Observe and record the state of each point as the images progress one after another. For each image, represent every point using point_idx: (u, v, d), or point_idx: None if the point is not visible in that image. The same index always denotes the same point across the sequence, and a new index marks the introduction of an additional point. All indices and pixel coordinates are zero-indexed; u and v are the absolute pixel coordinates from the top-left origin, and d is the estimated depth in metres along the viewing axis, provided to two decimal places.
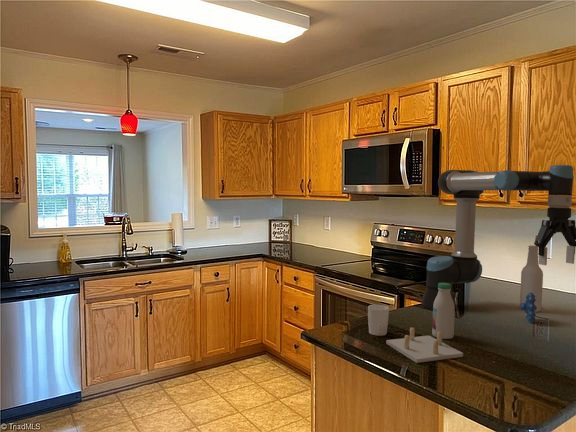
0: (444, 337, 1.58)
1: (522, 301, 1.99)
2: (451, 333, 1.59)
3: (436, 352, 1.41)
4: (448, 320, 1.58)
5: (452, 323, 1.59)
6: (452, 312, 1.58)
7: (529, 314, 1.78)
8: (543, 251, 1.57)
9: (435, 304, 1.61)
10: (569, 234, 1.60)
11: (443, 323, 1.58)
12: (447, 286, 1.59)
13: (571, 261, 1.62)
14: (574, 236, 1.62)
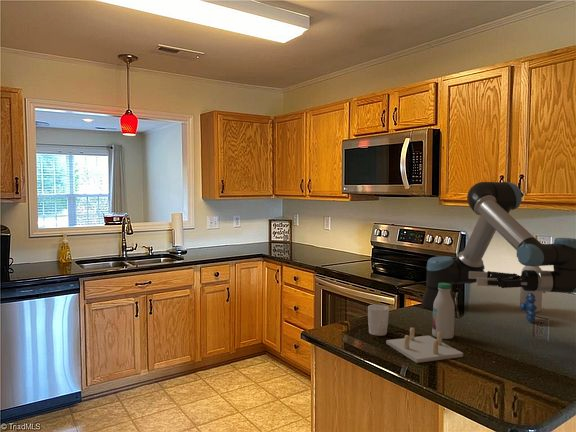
0: (444, 337, 1.58)
1: (522, 301, 1.99)
2: (451, 333, 1.59)
3: (436, 352, 1.41)
4: (448, 320, 1.58)
5: (452, 323, 1.59)
6: (452, 312, 1.58)
7: (529, 314, 1.78)
8: (492, 284, 1.51)
9: (435, 304, 1.61)
10: None
11: (443, 323, 1.58)
12: (447, 286, 1.59)
13: (471, 277, 1.65)
14: None
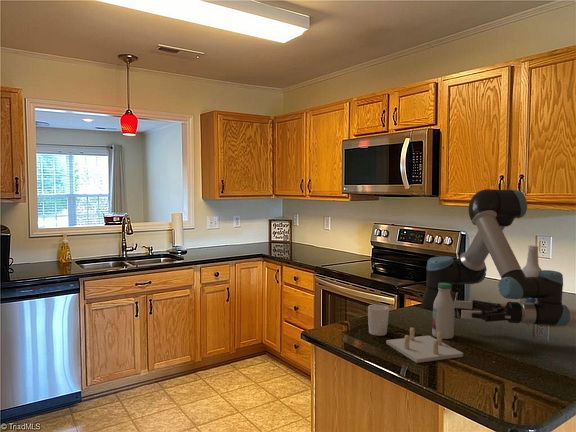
0: (444, 337, 1.58)
1: (522, 301, 1.99)
2: (451, 333, 1.59)
3: (436, 352, 1.41)
4: (448, 320, 1.58)
5: (452, 323, 1.59)
6: (452, 312, 1.58)
7: None
8: None
9: (435, 304, 1.61)
10: None
11: (443, 323, 1.58)
12: (447, 286, 1.59)
13: (456, 306, 1.66)
14: None
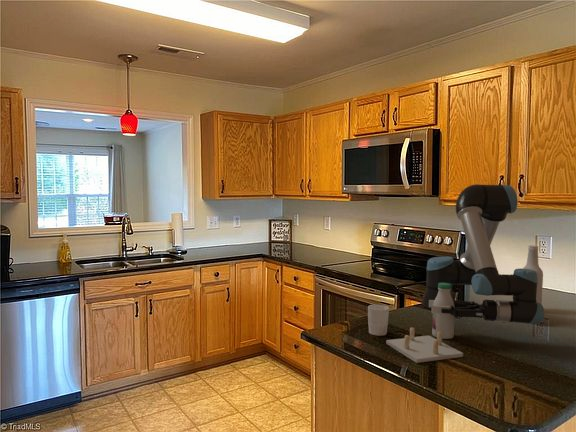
0: (444, 337, 1.58)
1: None
2: (451, 333, 1.59)
3: (436, 352, 1.41)
4: (448, 320, 1.58)
5: (452, 323, 1.59)
6: None
7: None
8: (446, 312, 1.57)
9: (435, 304, 1.61)
10: None
11: (443, 323, 1.58)
12: (447, 286, 1.59)
13: (431, 306, 1.66)
14: None
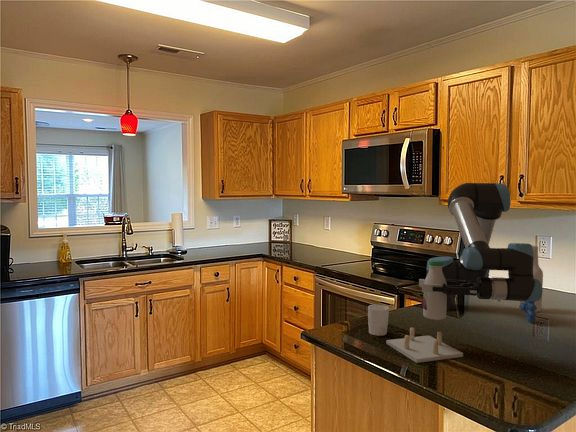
0: (436, 318, 1.47)
1: (522, 301, 1.99)
2: (443, 313, 1.47)
3: (436, 352, 1.41)
4: (440, 299, 1.47)
5: (444, 302, 1.47)
6: None
7: (529, 314, 1.78)
8: None
9: (426, 282, 1.49)
10: None
11: (434, 303, 1.47)
12: (438, 263, 1.47)
13: (421, 285, 1.55)
14: None
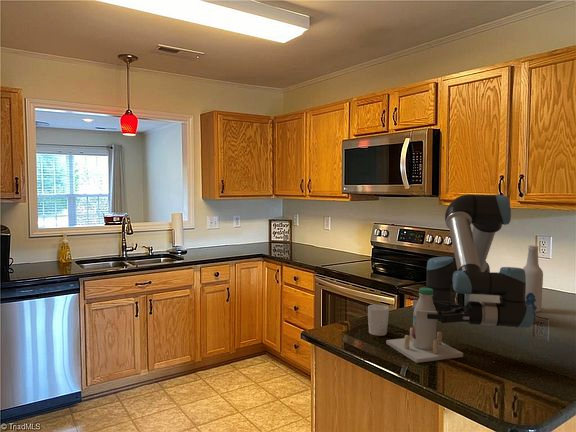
0: (424, 347, 1.44)
1: None
2: (432, 343, 1.44)
3: (436, 352, 1.41)
4: (429, 329, 1.43)
5: (433, 332, 1.44)
6: (434, 320, 1.44)
7: None
8: None
9: (415, 311, 1.46)
10: None
11: (423, 333, 1.44)
12: (429, 292, 1.44)
13: None
14: None
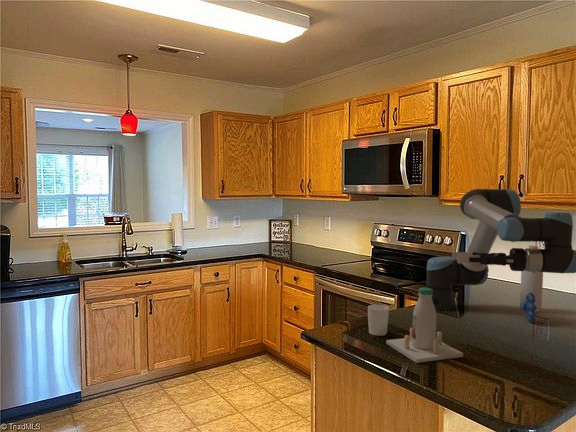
0: (424, 347, 1.44)
1: (522, 301, 1.99)
2: (432, 343, 1.44)
3: (436, 352, 1.41)
4: (429, 329, 1.44)
5: (433, 332, 1.44)
6: (433, 320, 1.44)
7: (529, 314, 1.78)
8: (474, 262, 1.37)
9: (415, 311, 1.46)
10: None
11: (423, 332, 1.44)
12: (428, 291, 1.44)
13: (455, 258, 1.51)
14: None
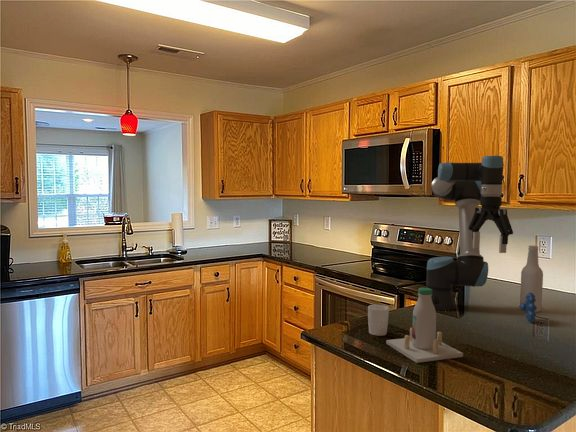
0: (424, 348, 1.44)
1: (522, 301, 1.99)
2: (432, 343, 1.44)
3: (436, 352, 1.41)
4: (429, 329, 1.44)
5: (433, 332, 1.44)
6: (433, 320, 1.44)
7: (529, 314, 1.78)
8: None
9: (415, 311, 1.46)
10: (496, 222, 1.63)
11: (423, 333, 1.44)
12: (428, 291, 1.44)
13: None
14: None
